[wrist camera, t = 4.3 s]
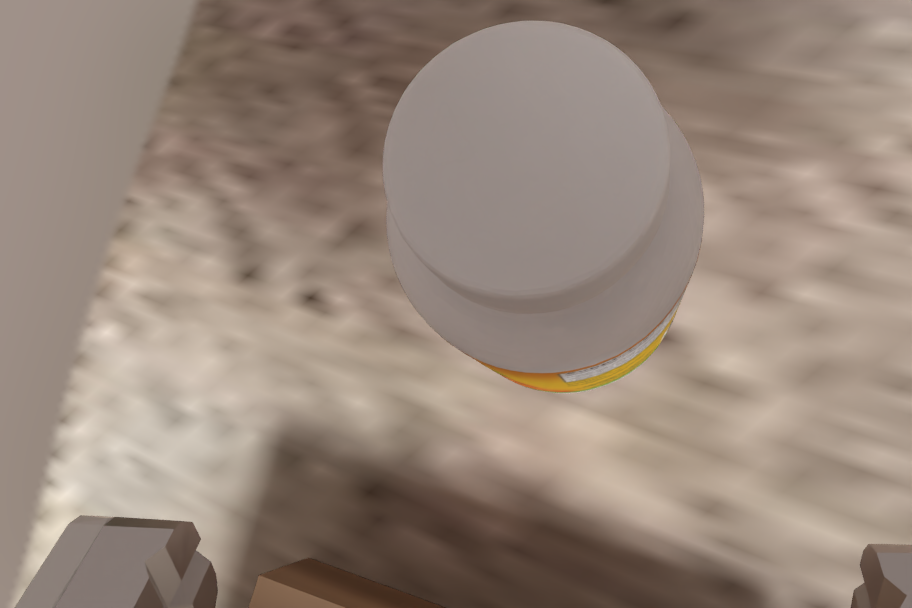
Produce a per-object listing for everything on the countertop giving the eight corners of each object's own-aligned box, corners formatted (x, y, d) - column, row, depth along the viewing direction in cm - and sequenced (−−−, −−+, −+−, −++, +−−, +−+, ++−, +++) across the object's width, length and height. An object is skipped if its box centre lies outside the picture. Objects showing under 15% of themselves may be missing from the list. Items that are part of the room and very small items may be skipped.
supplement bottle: (417, 253, 22) (265, 108, 13) (599, 138, 22) (582, -102, 12) (529, 438, 21) (452, 429, 11) (724, 318, 20) (813, 207, 11)
